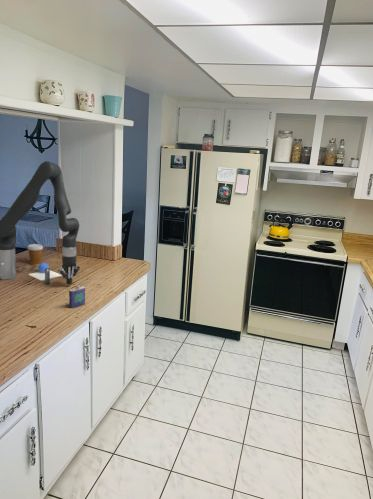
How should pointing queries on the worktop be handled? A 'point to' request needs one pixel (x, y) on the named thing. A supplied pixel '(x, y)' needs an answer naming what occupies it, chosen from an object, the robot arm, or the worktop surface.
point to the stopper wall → (28, 268)
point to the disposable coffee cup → (35, 253)
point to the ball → (43, 267)
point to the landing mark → (42, 275)
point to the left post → (47, 276)
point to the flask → (76, 297)
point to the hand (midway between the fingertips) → (69, 284)
